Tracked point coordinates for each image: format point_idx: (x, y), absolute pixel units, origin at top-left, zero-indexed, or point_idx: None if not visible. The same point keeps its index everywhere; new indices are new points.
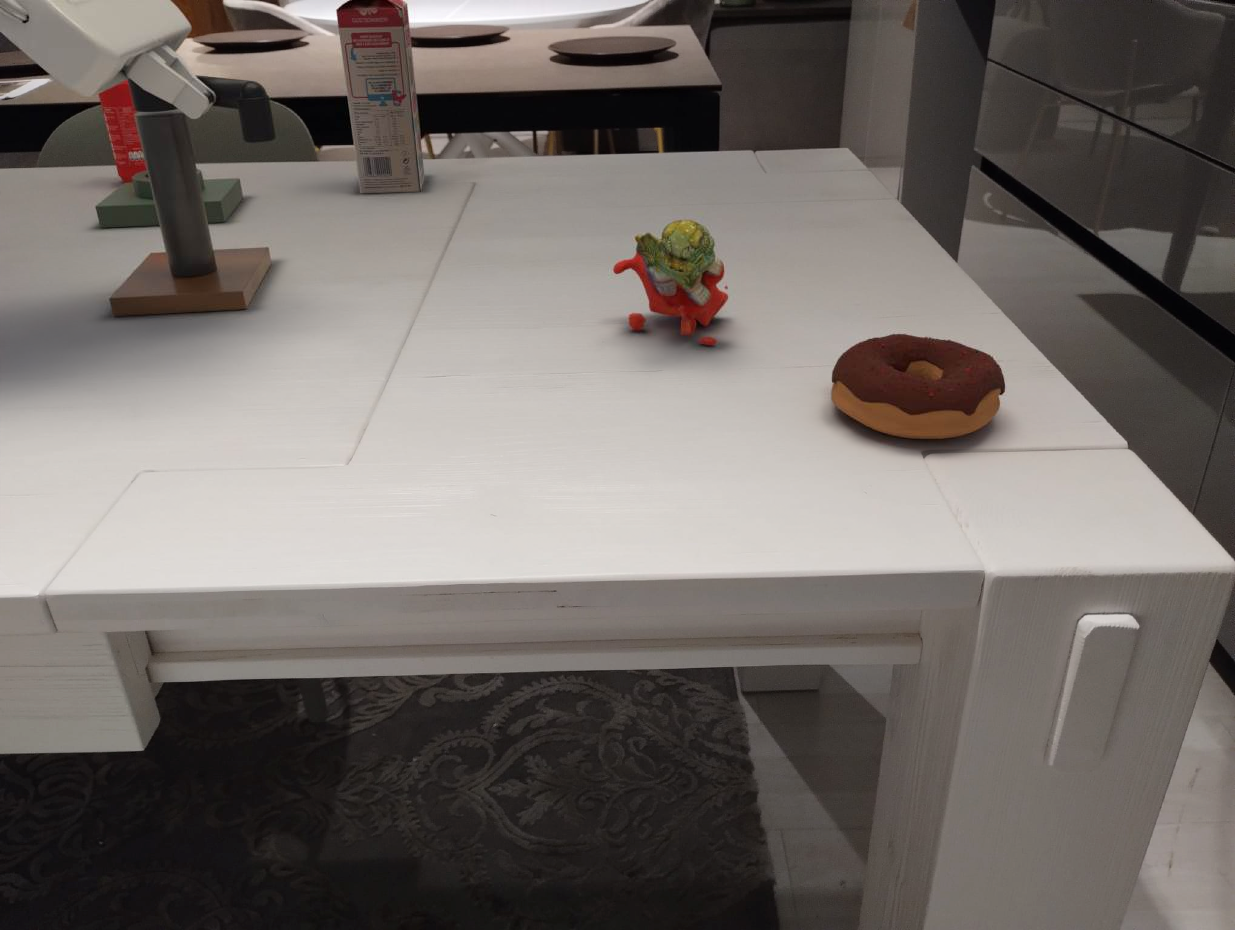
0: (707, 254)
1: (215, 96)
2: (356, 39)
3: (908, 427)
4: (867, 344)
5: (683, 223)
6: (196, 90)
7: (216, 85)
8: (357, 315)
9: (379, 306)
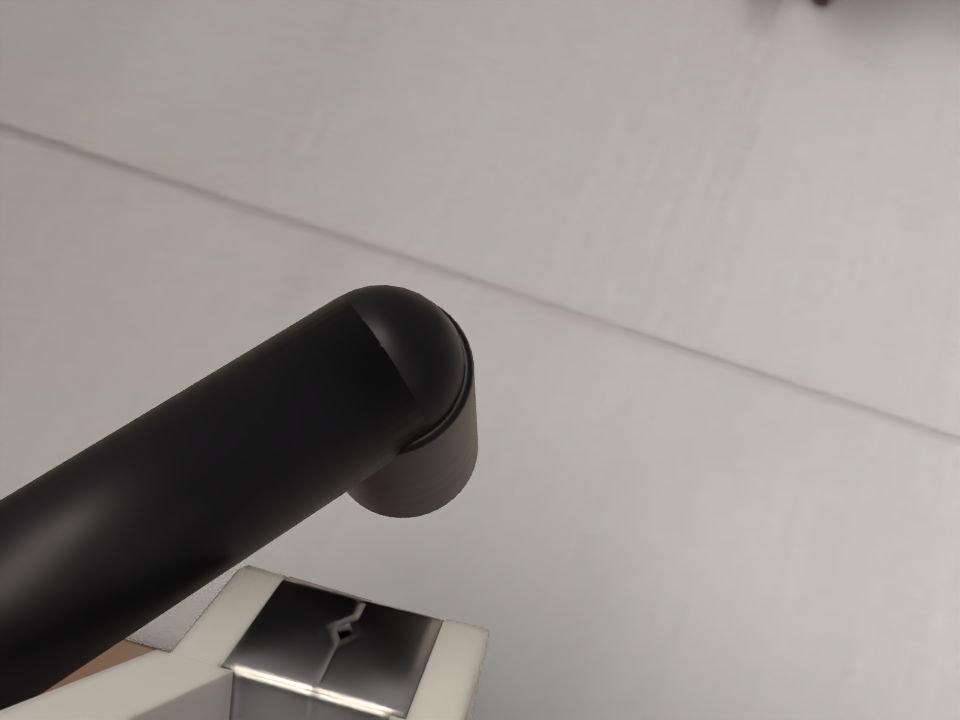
0: None
1: (264, 570)
2: None
3: None
4: None
5: None
6: (467, 679)
7: (199, 537)
8: (538, 438)
9: (494, 381)
